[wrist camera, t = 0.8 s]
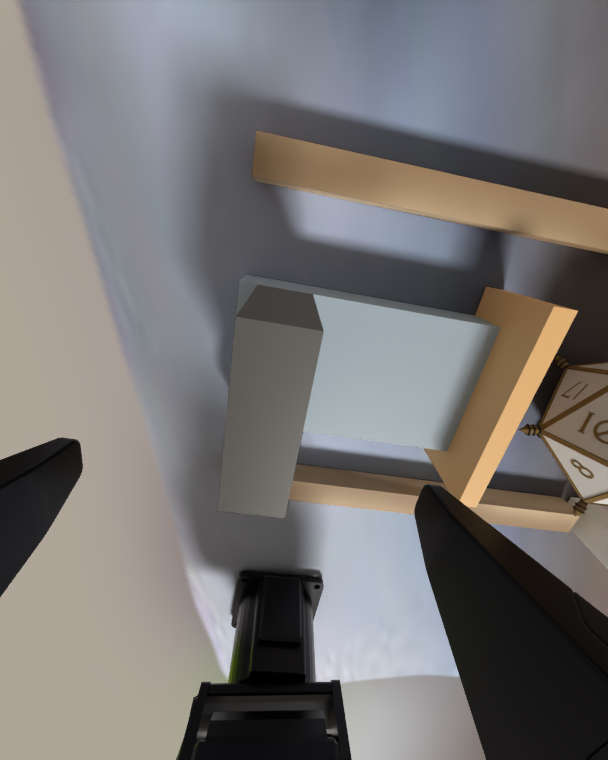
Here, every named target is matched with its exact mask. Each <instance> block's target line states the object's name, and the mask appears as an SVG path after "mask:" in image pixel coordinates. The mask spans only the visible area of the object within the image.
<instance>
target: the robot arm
mask: <svg viewBox="0 0 608 760" xmlns="http://www.w3.org/2000/svg"><path fill="white" fill-rule="evenodd" d="M82 469H83V463H82V455H81V446H80V443H79V441H78V440H76V439H68V438H57V439H55V440H52V441H49V442H47V443H44V444H41V445H39V446H36V447H34V448H31V449H28V450H25V451H23V452H20V453H18V454H15V455H12V456H10V457H7V458H4V459H2V460H0V597H1V595H2V594H3V593H4V591H5V590H6V589H7V587H8V586H9V584H10V583H11V582H12V580H13V579H14V578H15V576H16V575H17V573H18V572H19V571H20V569H21V568H22V566H23V565H24V564H25V562H26V561H27V560H28V558H29V557H30V556H31V554H32V553H33V551H34V550H35V549H36V547H37V546H38V544H39V543H40V542H41V540H42V539H43V537H44V536H45V535H46V533H47V531H48V530H49V528H50V527H51V525H52V523H53V522H54V520H55V518H56V517H57V515H58V513H59V512H60V510H61V508H62V506H63V505H64V503H65V501H66V499H67V498H68V496H69V494H70V492H71V491H72V489H73V488H74V486H75V484H76V482H77V481H78V479H79V477H80V475H81V473H82ZM414 514H415V520H416V524H417V529H418V534H419V539H420V543H421V548H422V553H423V557H424V562H425V566H426V570H427V574H428V577H429V581H430V584H431V587H432V590H433V593H434V596H435V600H436V603H437V606H438V609H439V612H440V615H441V618H442V622H443V625H444V628H445V631H446V634H447V637H448V640H449V644H450V647H451V650H452V653H453V656H454V659H455V663H456V666H457V669H458V672H459V675H460V678H461V681H462V684H463V688H464V691H465V694H466V697H467V700H468V703H469V707H470V710H471V713H472V716H473V719H474V722H475V725H476V729H477V732H478V735H479V738H480V741H481V744H482V748H483V750H484V754H485V757H486V760H608V617H607V616H605V615H604V614H603V613H601V612H600V611H599V610H597V609H596V608H595V607H594V606H592V605H591V604H590V603H589V602H587V601H586V600H585V599H584V598H582V597H581V596H580V595H579V594H577V593H575V592H573V591H572V589H571V588H570V587H568V586H567V585H566V584H564V583H563V582H562V581H561V580H559V579H558V578H557V577H556V576H554V575H553V574H552V573H551V572H549V571H548V570H547V569H545V568H544V567H543V566H542V565H540V564H539V563H538V562H537V561H535V560H534V559H533V558H532V557H530V556H529V555H528V554H526V553H525V552H524V551H523V550H521V549H520V548H519V547H518V546H516V545H515V544H514V543H513V542H511V541H510V540H509V539H507V538H506V537H505V536H504V535H502V534H501V533H500V532H499V531H497V530H496V529H495V528H494V527H492V526H491V525H490V524H489V523H487V522H486V521H485V520H483V519H482V518H481V517H480V516H478V515H477V514H476V513H475V512H473V511H472V510H471V509H470V508H468V507H467V506H466V505H464V504H463V503H462V502H461V501H459V500H458V499H457V498H456V497H454V496H453V495H452V494H451V493H449V492H448V491H447V490H445V489H444V488H443V487H442V486H439V485H433V484H425V485H424V486H423V488H422V490H421V493H420V495H419V497H418V500H417V502H416V505H415V509H414ZM322 590H323V580H322V579H321V578H316V577H306V576H295V575H284V574H274V573H263V572H252V571H242V572H240V573H239V576H238V583H237V590H236V597H235V603H234V610H233V617H232V627H234V628H236V632H235V639H234V646H233V653H232V659H231V666H230V673H229V680H228V683H221V684H219V683H218V684H211V682H202V683H201V686H200V690H199V694H198V695H197V696H196V697H194V699H193V703H192V707H191V712H190V717H189V721H188V725H187V729H186V732H185V736H184V739H183V742H182V745H181V748H180V750H179V753H178V756H177V758H176V760H351V753H350V747H349V740H348V733H347V727H346V720H345V713H344V707H343V699H342V693H341V686H340V680H331V682H316V675H315V654H314V633H313V620H314V616H315V613H316V610H317V607H318V603H319V600H320V597H321V594H322ZM326 729H327V730H326Z"/></svg>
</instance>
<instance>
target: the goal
mask: <svg viewBox="0 0 608 760" xmlns="http://www.w3.org/2000/svg"><path fill="white" fill-rule="evenodd" d="M578 501H580V498H575V497H571V498H570V500H569V501H568V504H569V505H570V506H571V507H572V506H574V505H575V502H576V503H577V502H578ZM572 508H573V507H572ZM586 508H587V510H585V511H584V512H585V514H581V515H580V517H579V519H578V520H577V522H576V523H575V525H574V526H573V527H572V529H571V530H572V531H573V532H574V533H575V534H576V535H577V537H578V538H579V539H580V540H581V541H582V542H583V543H584V544H585V545H586V546H587V547H588V548H589V550H590V551H591V552H592V553H593V554H594V555H595V556H596V557H597V558H598V559H599V560H600V561H601V562H602V564H603V565H604V566H605V567H606V568H607V569H608V512H607V511H606V510H605V509H604V508H603V507H602V506H601V505H595V504H588V505H587V507H586Z"/></svg>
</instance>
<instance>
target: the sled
mask: <svg viewBox="0 0 608 760" xmlns="http://www.w3.org/2000/svg"><path fill="white" fill-rule="evenodd" d="M577 312H578V311H577V310H573V309H570V308H566V307H563V306H559V305H556V304H552V303H549V302H545V301H541V300H538V299H534V298H531V297H527V296H524V295H520V294H517V293H513V292H509V291H506V290H501V289H496V288H491V287H486V288H485V291H484V294H483V296H482V299H481V301H480V304H479V306H478V309H477V311H476V314H475V315H469V314H464V313H458V312H453V311H447V310H442V309H436V308H430V307H425V306H419V305H414V304H408V303H403V302H397V301H392V300H386V299H381V298H375V297H370V296H364V295H358V294H353V293H347V292H342V291H336V290H331V289H325V288H320V287H314V286H309V285H303V284H298V283H292V282H286V281H281V280H275V279H270V278H264V277H259V276H253V275H248V274H246V275H245V276H244V277H243V278H242V279H241V280H240V281H239V286H238V296H237V307H236V317H235V328H234V338H233V349H232V359H231V370H230V380H229V391H228V402H227V412H226V424H225V434H224V445H223V455H222V466H221V476H220V487H219V497H218V508H217V511H223V512H232V513H241V514H250V515H259V516H268V517H277V518H285V515H286V510H287V505H288V500H289V496H290V491H291V486H292V481H293V477H294V472H295V467H296V462H297V457H298V453H299V448H300V443H301V438H302V433H303V432H309V433H317V434H324V435H331V436H338V437H346V438H353V439H360V440H368V441H375V442H382V443H390V444H397V445H404V446H412V447H419V448H424V450H425V452H426V453H427V455H428V457H429V459H430V460H431V462H432V464H433V465H434V467H435V469H436V470H437V472H438V474H439V475H440V477H441V479H442V480H443V482H444V484H445V485H446V487H447V489H448V491H449V492H450V493H451V494H452V495H453V496H454V497H456V498H457V499H458V500H459V501H461V502H462V503H463V504H464V505H466V506H467V507H475V508H476V507H477V505H478V503H479V501H480V499H481V497H482V495H483V493H484V491H485V490H486V488H487V486H488V484H489V482H490V480H491V478H492V476H493V474H494V472H495V470H496V468H497V466H498V465H499V463H500V461H501V459H502V457H503V455H504V453H505V451H506V449H507V447H508V445H509V443H510V441H511V439H512V438H513V436H514V434H515V432H516V430H517V428H518V426H519V424H520V422H521V420H522V418H523V416H524V414H525V412H526V411H527V409H528V407H529V405H530V403H531V401H532V399H533V397H534V395H535V393H536V391H537V389H538V387H539V386H540V384H541V382H542V380H543V378H544V376H545V374H546V372H547V370H548V368H549V366H550V364H551V362H552V360H553V359H554V357H555V355H556V353H557V351H558V349H559V347H560V345H561V343H562V341H563V339H564V337H565V335H566V333H567V332H568V330H569V328H570V326H571V324H572V322H573V320H574V318H575V316H576V314H577Z"/></svg>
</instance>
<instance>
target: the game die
mask: <svg viewBox="0 0 608 760" xmlns="http://www.w3.org/2000/svg"><path fill="white" fill-rule="evenodd" d="M555 362H556V363H555V364H557V365H558V367H561V368H563V369H564V371H563V374H562V376H561V378H560V380H559V382H558V384H557V387H556V389H555V391H554V393H553V395H552V398H551V400H550V402H549V404H548V406H547V408H546V411H545V413H544V415H543V417H542V419H541V421H540V424H539V426H538V427H537V426H534V424H532V425H529V424H527V425H526V426H525V427H523V428H521V429H519V430H520V431H522V432H524V433H525V434H527V435H528V436H530V434H532V435H535V434H536V435H537V436H538V437H540V438H542V440H543V441H544V443H545V444H546V446H547V448H548V449H549V451H550V452H551V454H552V455H553V457H554V458H555V460H556V462H557V463H558V465H559V466H560V468H561V469H562V471H563V473H564V474H565V476H566V477H567V479H568V480H569V482H570V483H571V485H572V487H573V488H574V490H575V491H576V493H577V494H578V496H579V498H580V501H578V502H577V503H576V502H575V505H574V506H572V507H573V511H574V517H575V516H578V515H581V514H585V512H584V511H585V510H587V508H586V507H587V505H588V504H595V505H604V506H608V362H599V363H590V364H580V365H569V364H568V360H566V359H565V357H561V356H557V355H555Z"/></svg>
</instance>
